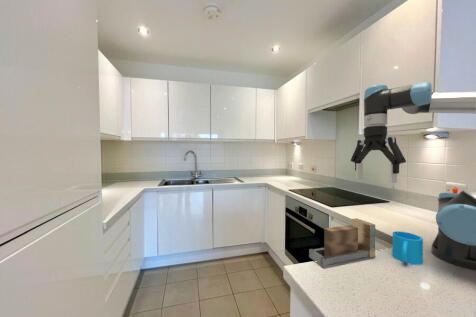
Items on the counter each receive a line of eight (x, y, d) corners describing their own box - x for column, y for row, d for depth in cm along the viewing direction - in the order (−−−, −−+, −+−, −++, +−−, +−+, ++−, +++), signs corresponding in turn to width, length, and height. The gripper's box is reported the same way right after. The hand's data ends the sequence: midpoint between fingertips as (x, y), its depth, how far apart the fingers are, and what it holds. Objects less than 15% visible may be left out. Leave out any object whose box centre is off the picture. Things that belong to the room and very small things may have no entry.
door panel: (350, 251, 73) (350, 225, 73) (357, 255, 70) (358, 227, 70) (324, 256, 69) (324, 228, 69) (330, 260, 66) (330, 231, 66)
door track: (356, 248, 77) (357, 218, 77) (375, 258, 70) (375, 224, 69) (309, 257, 70) (309, 223, 70) (324, 268, 63) (324, 231, 63)
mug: (394, 250, 75) (394, 229, 75) (423, 258, 69) (423, 235, 69) (388, 262, 67) (388, 238, 67) (421, 272, 61) (421, 246, 61)
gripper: (342, 130, 88) (341, 177, 88) (403, 120, 64) (403, 185, 64) (355, 131, 90) (354, 177, 90) (419, 121, 66) (418, 184, 66)
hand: (374, 180), depth 77 cm, fingers open, 13 cm apart
